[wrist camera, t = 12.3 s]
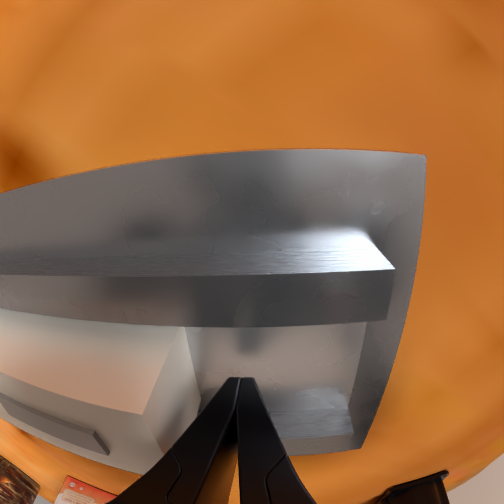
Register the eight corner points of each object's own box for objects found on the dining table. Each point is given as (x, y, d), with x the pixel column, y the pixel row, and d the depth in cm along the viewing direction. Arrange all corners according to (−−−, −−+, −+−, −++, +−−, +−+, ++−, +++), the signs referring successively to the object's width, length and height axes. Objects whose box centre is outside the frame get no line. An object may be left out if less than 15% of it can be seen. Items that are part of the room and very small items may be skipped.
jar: (-5, 454, 31) (-28, 495, 17) (1, 454, 28) (-25, 501, 14) (34, 485, 34) (15, 526, 20) (47, 489, 31) (26, 537, 17)
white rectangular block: (183, 318, 9) (138, 424, 5) (200, 398, 11) (179, 489, 7) (-19, 298, 10) (-68, 340, 6) (9, 358, 11) (-29, 403, 7)
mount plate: (408, 152, 8) (454, 160, 5) (357, 431, 13) (365, 470, 11) (-38, 206, 9) (-72, 221, 7) (40, 398, 15) (23, 423, 12)
